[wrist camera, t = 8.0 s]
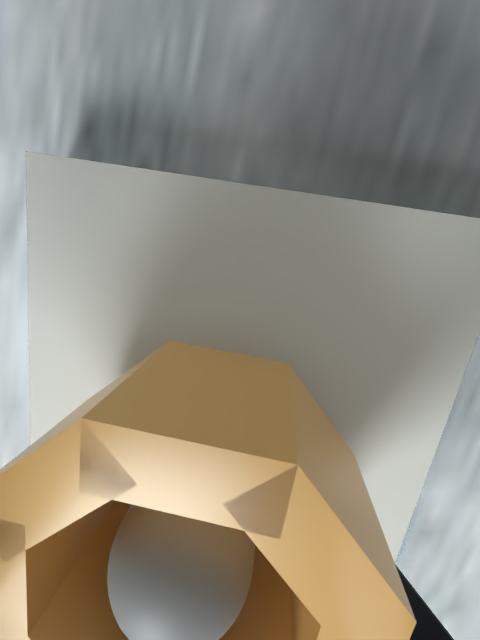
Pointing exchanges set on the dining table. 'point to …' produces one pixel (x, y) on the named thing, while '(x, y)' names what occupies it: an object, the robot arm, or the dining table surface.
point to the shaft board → (245, 340)
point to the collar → (199, 502)
